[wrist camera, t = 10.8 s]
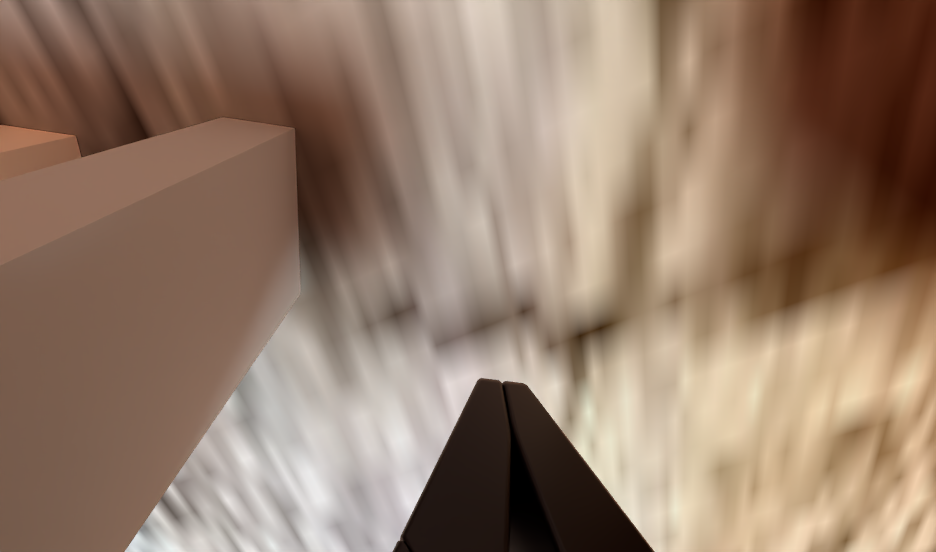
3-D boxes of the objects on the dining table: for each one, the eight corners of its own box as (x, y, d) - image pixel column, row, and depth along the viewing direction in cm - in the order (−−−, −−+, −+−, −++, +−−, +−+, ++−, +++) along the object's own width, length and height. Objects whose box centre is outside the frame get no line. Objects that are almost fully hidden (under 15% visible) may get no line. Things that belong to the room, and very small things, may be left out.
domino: (300, 293, 12) (54, 652, 5) (241, 285, 12) (-100, 642, 5) (294, 128, 10) (-143, 332, 3) (222, 116, 10) (-420, 301, 3)
